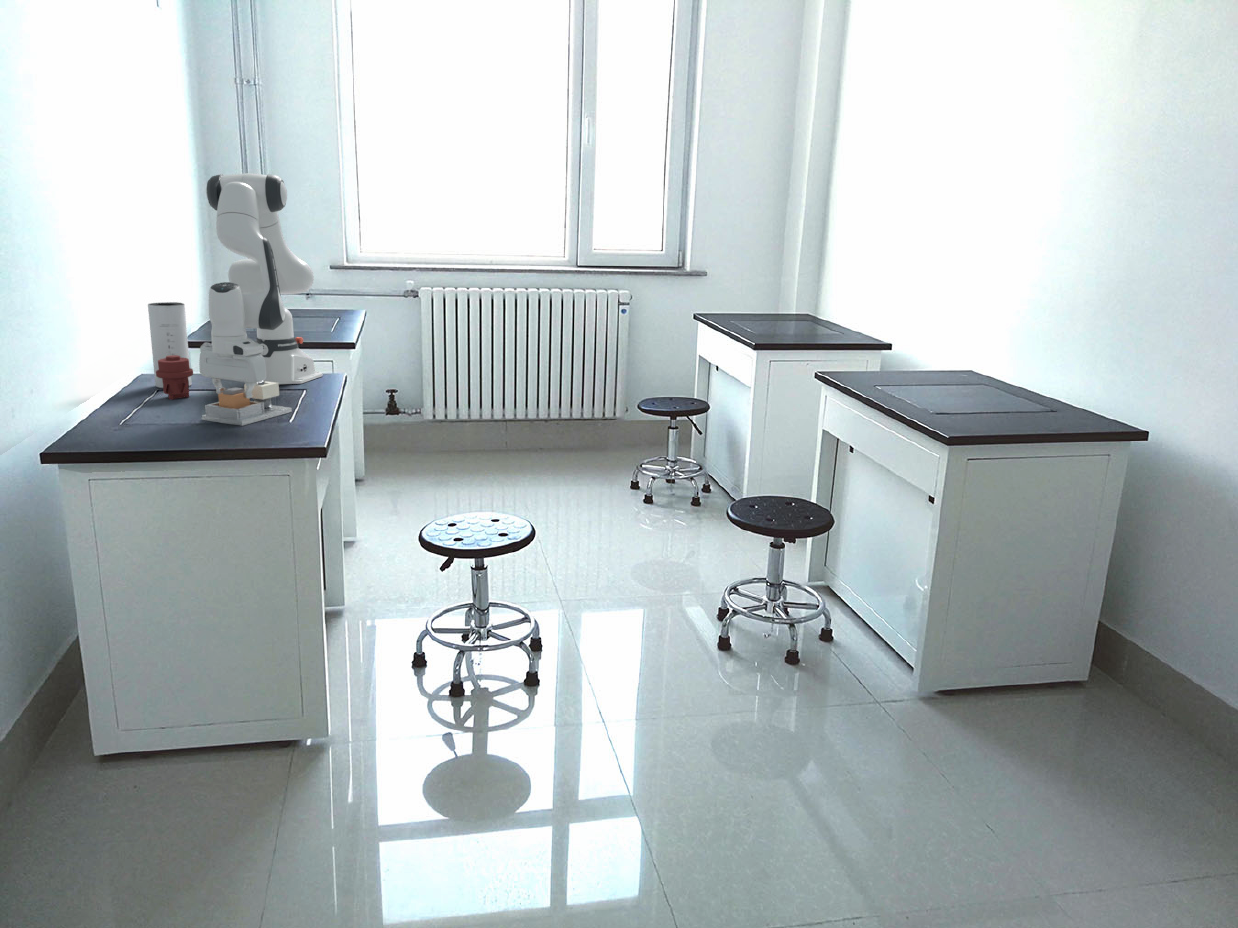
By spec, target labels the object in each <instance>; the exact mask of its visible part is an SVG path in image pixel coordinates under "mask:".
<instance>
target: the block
mask: <svg viewBox="0 0 1238 928" xmlns="http://www.w3.org/2000/svg"><path fill="white" fill-rule="evenodd" d="M244 391H245V390H244V388H241V387H237V386H235V387H231V388H225V390H223V393H221V394H217V398H218V402H219V406H222V407H229V408H236V409H237V408H241V407H244V406H248V405H250V401H251V400H250V399H251V398H244V397H243V392H244Z"/></svg>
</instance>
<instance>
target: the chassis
mask: <svg viewBox="0 0 1238 928" xmlns="http://www.w3.org/2000/svg"><path fill="white" fill-rule="evenodd" d="M264 384H265V380H264V382H260V383H258V385H264ZM292 409H293V408H292V407H290V406H289V407H288V406H281V405H273V404H272V397H271V398H267V399H255V398H253V400H250V405H248V406H244V407H241V408H237V409H236V408H229V407H222V406H219V401H217V402H213V403H208V404H205V405H204V411H205V414H201V420H202V421H208V422H214V423H221V424H228V425H235V426H241V427H243V426H247V425H251V424H253V423H257V422H262V421H264V420H268V419H271V418H275V417H279V416H282V415H285V414H289V413H292V412H293V410H292Z"/></svg>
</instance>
